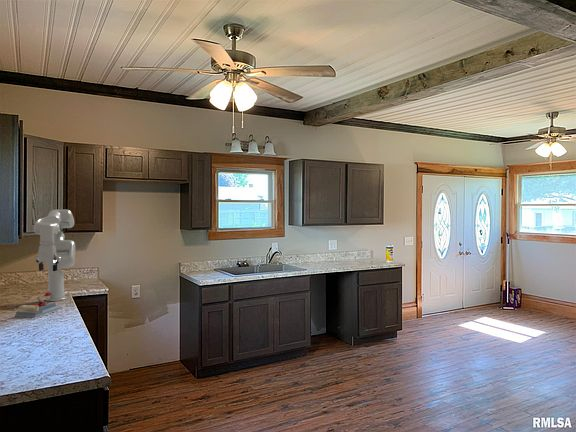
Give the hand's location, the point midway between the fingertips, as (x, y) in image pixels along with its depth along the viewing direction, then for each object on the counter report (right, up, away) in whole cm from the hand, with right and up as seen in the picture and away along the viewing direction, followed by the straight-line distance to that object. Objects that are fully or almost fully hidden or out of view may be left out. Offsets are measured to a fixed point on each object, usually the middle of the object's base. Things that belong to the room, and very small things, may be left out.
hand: (48, 270), depth 273 cm
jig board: (-1, -24, -7) cm, 26 cm away
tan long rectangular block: (-3, -24, -16) cm, 28 cm away
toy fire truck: (-2, -24, -5) cm, 24 cm away
